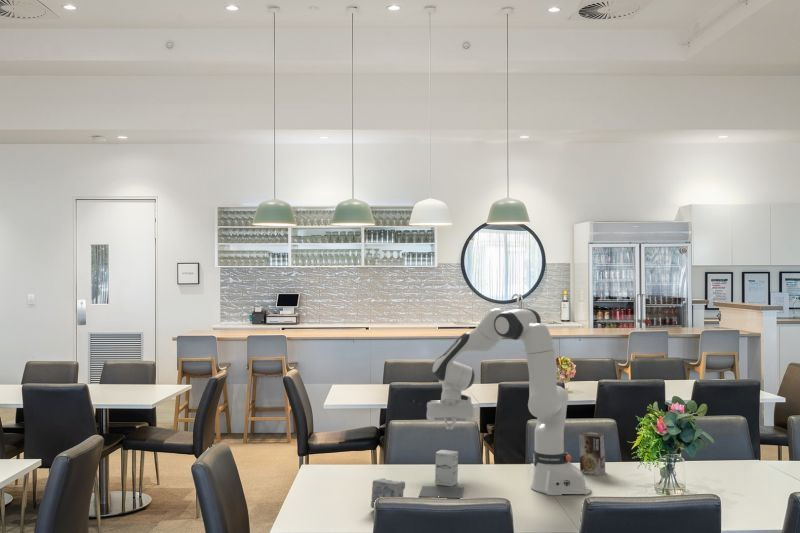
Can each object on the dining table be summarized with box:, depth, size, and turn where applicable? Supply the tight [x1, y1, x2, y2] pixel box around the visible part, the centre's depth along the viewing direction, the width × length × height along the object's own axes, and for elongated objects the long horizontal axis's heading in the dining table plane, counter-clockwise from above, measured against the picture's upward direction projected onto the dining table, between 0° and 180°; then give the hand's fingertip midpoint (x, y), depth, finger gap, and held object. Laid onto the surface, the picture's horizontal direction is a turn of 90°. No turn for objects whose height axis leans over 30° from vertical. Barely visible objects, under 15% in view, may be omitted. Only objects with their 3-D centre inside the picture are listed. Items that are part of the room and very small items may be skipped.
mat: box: [418, 485, 464, 499], centre depth 269 cm, size 16×13×1 cm
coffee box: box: [578, 431, 606, 476], centre depth 295 cm, size 9×6×16 cm
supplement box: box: [434, 449, 459, 487], centre depth 280 cm, size 7×7×13 cm
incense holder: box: [370, 477, 406, 509], centre depth 251 cm, size 10×8×10 cm
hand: (449, 428), depth 296 cm, fingers closed
